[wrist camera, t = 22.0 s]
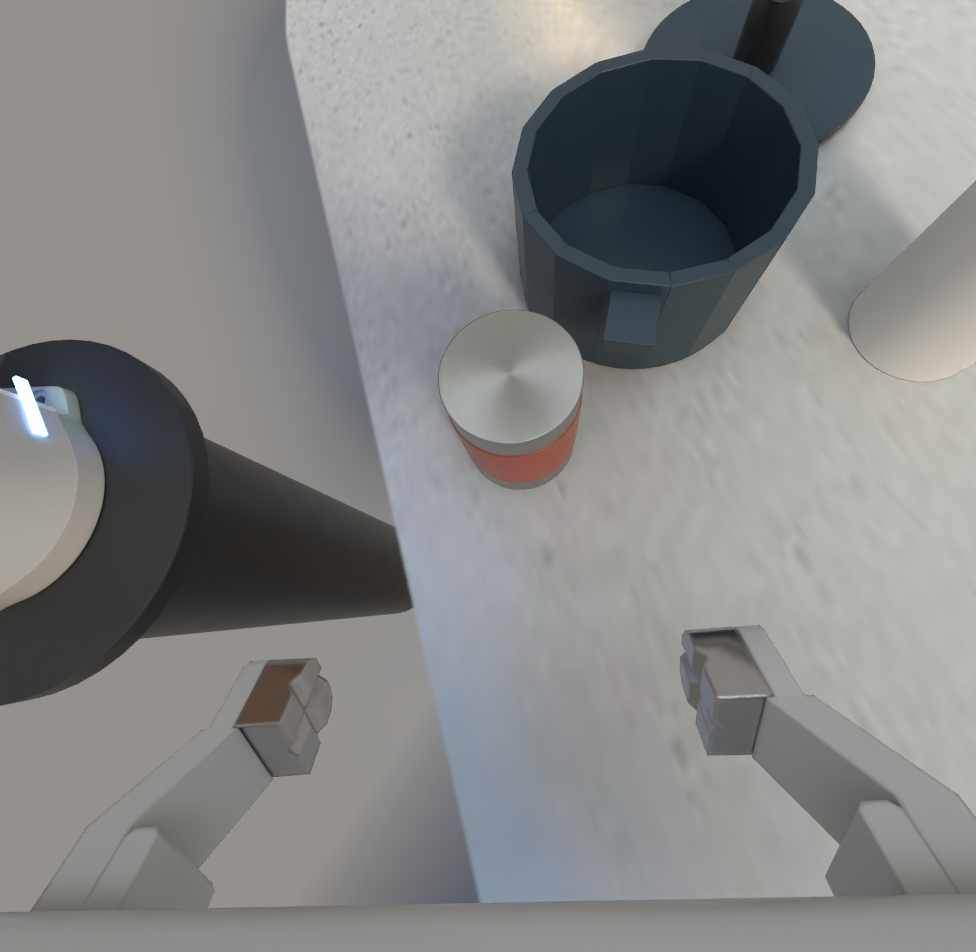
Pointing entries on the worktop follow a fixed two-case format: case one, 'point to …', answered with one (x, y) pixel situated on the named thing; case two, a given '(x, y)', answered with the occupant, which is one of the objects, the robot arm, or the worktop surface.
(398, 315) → the worktop surface
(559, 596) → the worktop surface
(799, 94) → the pot lid
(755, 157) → the pot
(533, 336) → the can
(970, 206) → the cylindrical container
